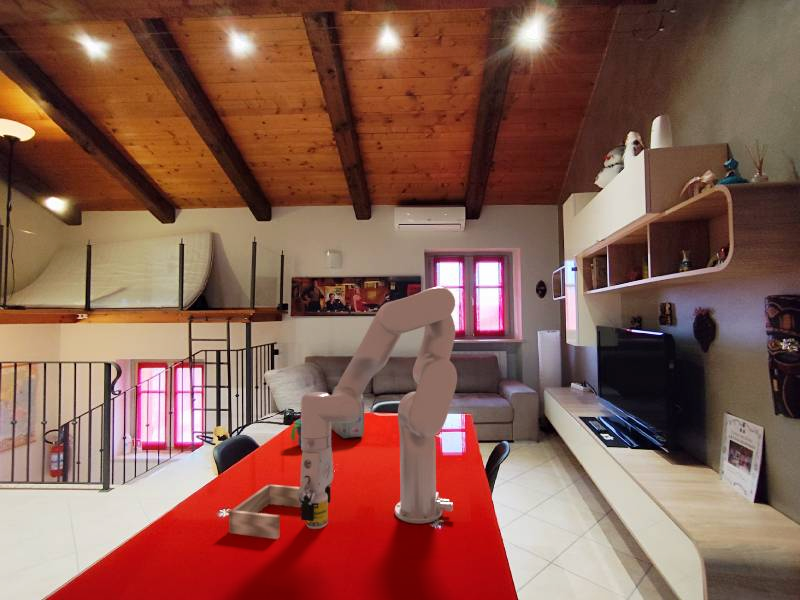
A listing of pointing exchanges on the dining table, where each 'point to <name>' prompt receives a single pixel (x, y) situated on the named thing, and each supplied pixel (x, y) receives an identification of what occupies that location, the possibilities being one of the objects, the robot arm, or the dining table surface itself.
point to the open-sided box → (259, 524)
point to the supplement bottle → (319, 510)
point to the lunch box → (350, 425)
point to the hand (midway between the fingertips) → (316, 510)
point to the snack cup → (298, 426)
